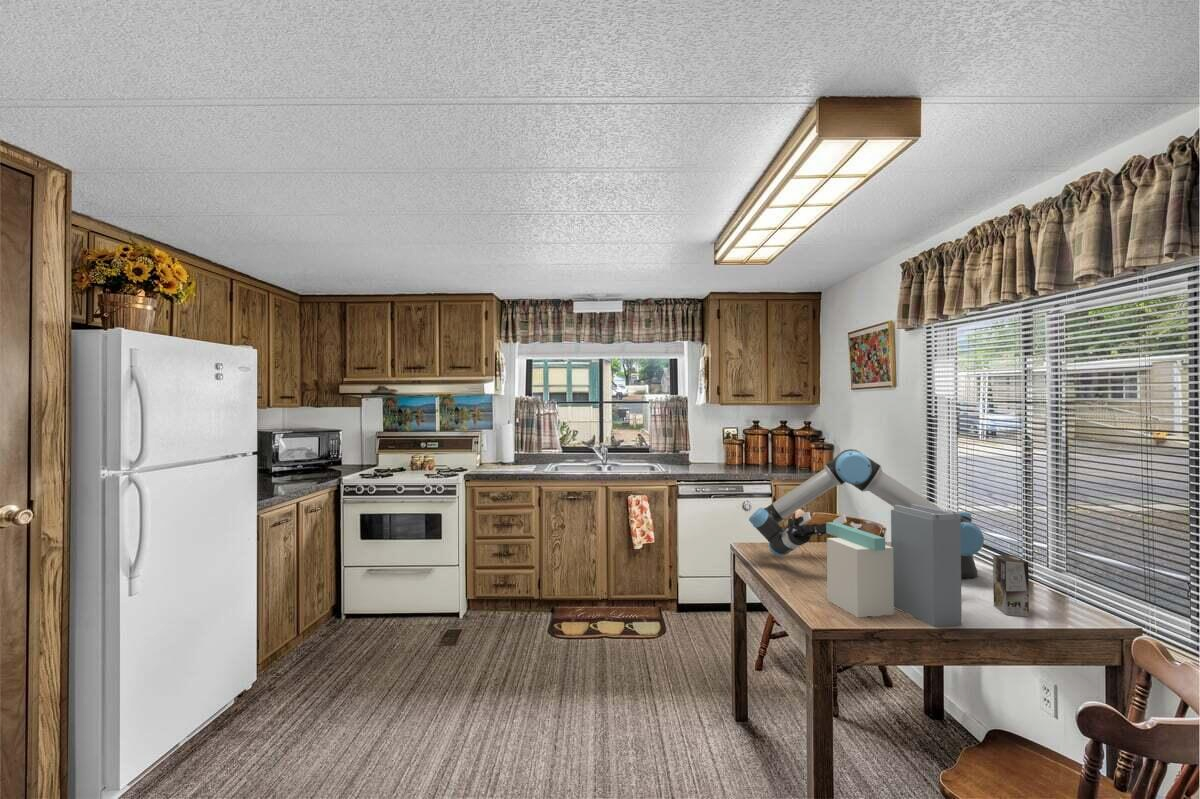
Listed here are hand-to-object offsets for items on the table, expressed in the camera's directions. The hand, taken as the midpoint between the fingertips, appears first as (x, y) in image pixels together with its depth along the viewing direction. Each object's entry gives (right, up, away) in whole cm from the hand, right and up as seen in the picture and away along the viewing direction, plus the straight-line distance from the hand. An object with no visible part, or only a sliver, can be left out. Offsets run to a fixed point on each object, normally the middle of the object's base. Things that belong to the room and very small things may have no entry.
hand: (827, 516), depth 209 cm
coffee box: (+47, -24, -23) cm, 58 cm away
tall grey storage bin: (+19, -24, -27) cm, 41 cm away
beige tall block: (+3, -24, -20) cm, 31 cm away
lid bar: (+2, -4, -17) cm, 18 cm away
